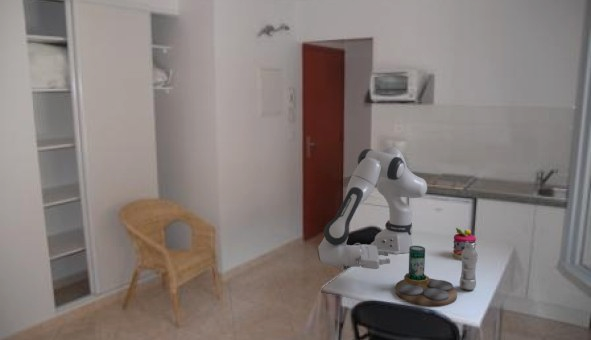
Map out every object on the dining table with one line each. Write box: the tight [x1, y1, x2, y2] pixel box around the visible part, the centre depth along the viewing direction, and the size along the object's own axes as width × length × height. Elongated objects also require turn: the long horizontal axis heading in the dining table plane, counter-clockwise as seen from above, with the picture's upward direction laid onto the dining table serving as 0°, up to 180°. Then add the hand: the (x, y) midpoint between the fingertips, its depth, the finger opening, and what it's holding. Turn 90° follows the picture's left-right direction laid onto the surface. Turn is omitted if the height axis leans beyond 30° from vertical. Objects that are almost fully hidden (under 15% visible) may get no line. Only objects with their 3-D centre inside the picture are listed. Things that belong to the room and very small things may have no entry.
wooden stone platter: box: [395, 272, 458, 307], centre depth 192 cm, size 24×24×4 cm
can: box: [408, 245, 426, 281], centre depth 197 cm, size 6×6×15 cm
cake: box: [452, 227, 477, 261], centre depth 233 cm, size 10×10×15 cm
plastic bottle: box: [459, 241, 479, 291], centre depth 195 cm, size 6×7×20 cm
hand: (389, 257), depth 198 cm, fingers open, 8 cm apart
